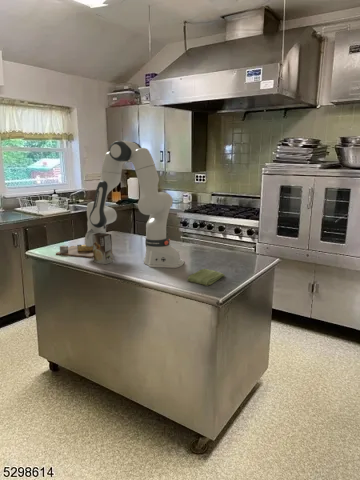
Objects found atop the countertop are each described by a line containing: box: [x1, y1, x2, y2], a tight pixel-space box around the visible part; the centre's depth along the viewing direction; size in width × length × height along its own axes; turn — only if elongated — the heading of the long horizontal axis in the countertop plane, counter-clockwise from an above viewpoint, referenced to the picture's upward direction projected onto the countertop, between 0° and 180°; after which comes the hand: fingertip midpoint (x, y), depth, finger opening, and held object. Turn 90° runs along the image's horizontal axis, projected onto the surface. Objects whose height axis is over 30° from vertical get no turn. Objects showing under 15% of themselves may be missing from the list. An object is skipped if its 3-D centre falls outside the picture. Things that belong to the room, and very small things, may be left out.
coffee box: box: [92, 233, 114, 265], centre depth 200 cm, size 9×6×16 cm
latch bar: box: [76, 244, 93, 252], centre depth 219 cm, size 14×3×4 cm, turn 106°
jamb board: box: [55, 244, 94, 259], centre depth 220 cm, size 24×18×5 cm
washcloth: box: [186, 268, 225, 287], centre depth 176 cm, size 13×18×3 cm
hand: (96, 250), depth 217 cm, fingers closed
